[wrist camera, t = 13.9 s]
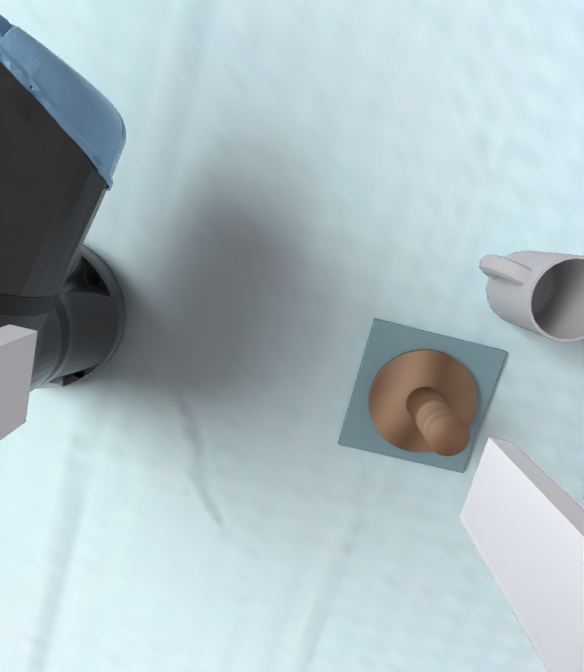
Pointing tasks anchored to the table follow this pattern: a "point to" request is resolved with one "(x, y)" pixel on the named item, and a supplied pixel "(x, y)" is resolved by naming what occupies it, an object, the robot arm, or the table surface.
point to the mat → (400, 339)
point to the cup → (538, 292)
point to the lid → (424, 402)
